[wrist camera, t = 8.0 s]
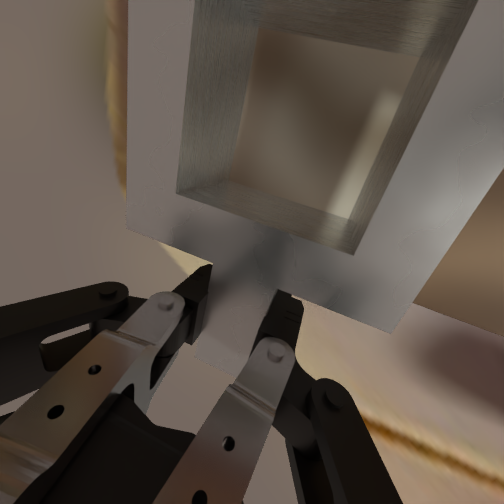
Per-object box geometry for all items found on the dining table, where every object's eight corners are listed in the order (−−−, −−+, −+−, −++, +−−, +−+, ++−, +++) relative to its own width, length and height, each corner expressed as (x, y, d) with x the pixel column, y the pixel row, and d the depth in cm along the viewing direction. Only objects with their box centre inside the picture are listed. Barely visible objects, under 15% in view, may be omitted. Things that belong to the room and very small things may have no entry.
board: (262, -124, 10) (253, -157, 9) (891, -88, 7) (1001, -134, 6) (208, 218, 18) (199, 224, 17) (494, 323, 14) (507, 339, 13)
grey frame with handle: (222, -51, 9) (130, -213, 5) (528, -13, 7) (769, -224, 3) (179, 280, 16) (125, 323, 12) (332, 345, 14) (329, 423, 10)
